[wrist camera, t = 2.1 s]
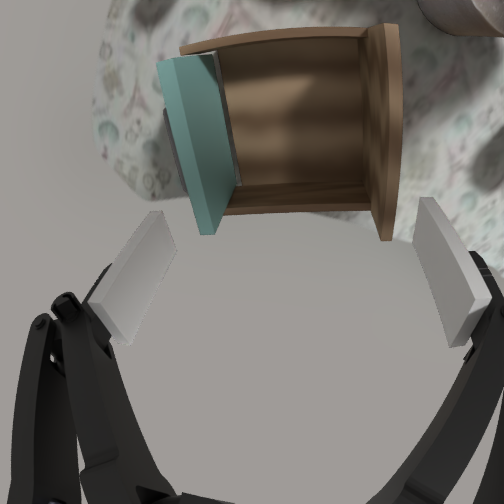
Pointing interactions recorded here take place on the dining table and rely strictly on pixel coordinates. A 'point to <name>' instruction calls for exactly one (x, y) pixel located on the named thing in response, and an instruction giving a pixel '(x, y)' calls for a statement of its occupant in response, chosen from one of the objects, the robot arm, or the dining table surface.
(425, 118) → the dining table surface
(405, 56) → the dining table surface
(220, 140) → the panel
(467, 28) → the pillar candle
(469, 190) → the dining table surface
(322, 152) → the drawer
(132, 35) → the dining table surface
